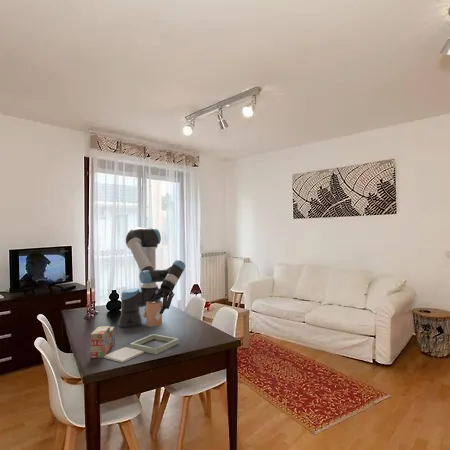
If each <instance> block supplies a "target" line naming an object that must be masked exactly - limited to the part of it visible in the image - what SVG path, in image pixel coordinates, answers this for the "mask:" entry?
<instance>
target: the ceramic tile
mask: <svg viewBox="0 0 450 450" xmlns="http://www.w3.org/2000/svg"><path fill="white" fill-rule="evenodd" d="M144 353H145V352H144V351H141V350H136V349H132V348H130V347H129V346H128V347H127V346H125V347H122V348H119V349H117V350H115V351H112V352H108V353H107V354H106V355H105V356H104V357H103V358H104V359H108V360H110V361H115V362H118V363H122V364H123V363H125V362H127V361H129V360H132V359H134V358H136V357H138V356H141V355H143V354H144Z"/></svg>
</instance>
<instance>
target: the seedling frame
mask: <svg viewBox="0 0 450 450" xmlns="http://www.w3.org/2000/svg"><path fill="white" fill-rule="evenodd" d="M152 340H156V341H160V342H166V343H164V344H162V345H160V346H158V347H153V346H152V347H151V346H147V345H144V344H146V343H148V342H150V341H152ZM178 344H179V338H176V337H172V336H166V335H161V334H155V333H151V334H150V335H147V336H145V337H142V338H140V339H137V340H135V341H133V342H130V343H129V348H132V349H136V350H141V351H144V353H147V354H154V355H158V354H159V353H162V352H164V351H166V350H168V349H170V348H173V346H176V345H178Z"/></svg>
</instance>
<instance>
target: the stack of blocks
mask: <svg viewBox="0 0 450 450" xmlns="http://www.w3.org/2000/svg"><path fill="white" fill-rule="evenodd" d="M115 335H116V333H115V326H110V325H108V326H107V325H105V326H104V325H103V326H98V327H96V329H94V330H93V331H92V332H91V333H90V358H91V359H98V358H99V359H102V358H104V356H105V355H107V354H109V351H110V350H111V348H112V347H113V346H114V345H115V343H116V338H115V337H116V336H115Z"/></svg>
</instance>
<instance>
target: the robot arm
mask: <svg viewBox="0 0 450 450" xmlns="http://www.w3.org/2000/svg"><path fill="white" fill-rule="evenodd" d="M128 231H129V232H127V234H126V236H125V244H126V248H128V249H129V250H130V251H131V254H132V256H133V258H134V260H135V262H136V264H137V267H138V269H139V270H140V272H139V281H140V283H141V284H142V285H141V286H140V288H139V287H138V288H137V287H132V288H127V289H124V290H123V291H122V292H121V295H120V296H121V297H120V299H121V300H120V303H121V304H120V305H121V306H120V308H121V309H120V310H121V312H120V313H121V314H120V316H119V320H118V327H121V328H135V327H138V326H139V327H140V326H141V325H142V324H143V319H142V317H143V318H144V319H146V302H148V301H153V300H158V301H162V307H160V309H159V310H158V312H157V314H156V316H155V318H156V320H159V318H160V316H161V314H162V315H163V314H164V312H165V311H166V310H170V306H171V304H172V300H173V298H174V296H175V292H174V291H173V290H175V287H176V286H177V284H178V281H179V279H180V278H181V276H182V274H183V273H184V271H185V269H186V264H185V262H183V261H182V260H180V259H175V260H174V262H173V263H172V265H171V266H170V267H168V268H162V269H156V267H157V264H156V250H157V248H158V245H160V243H161V241H162V236H161V232H160V230H159V229H158V228H155V227H135V228H134V227H133V228H132V229H130V230H128ZM157 283H161V284H160V287H159V285H158V284H157ZM161 299H162V300H161ZM143 307H145V308H144V311H143V313H142V317H141V313H140V308H143Z"/></svg>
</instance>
